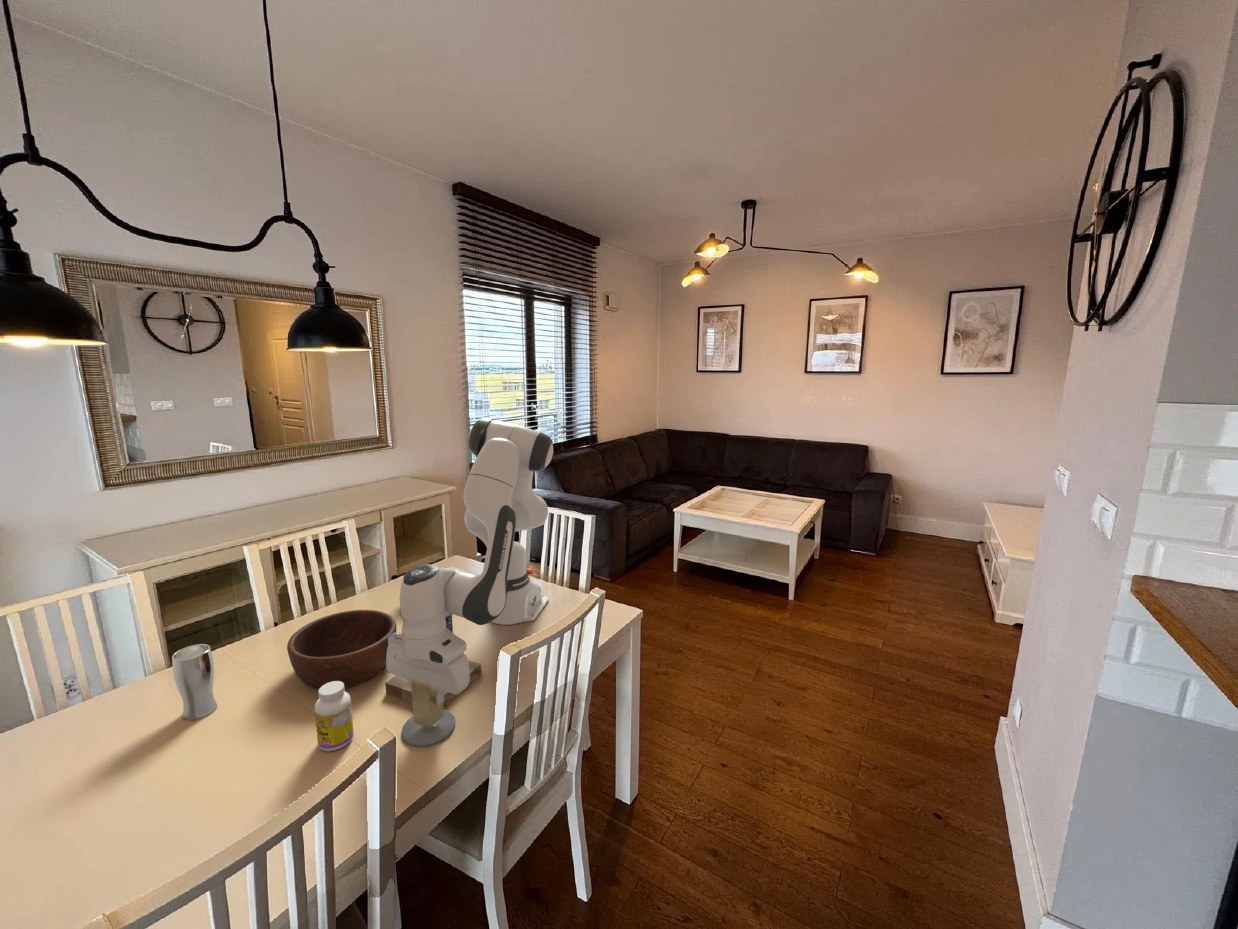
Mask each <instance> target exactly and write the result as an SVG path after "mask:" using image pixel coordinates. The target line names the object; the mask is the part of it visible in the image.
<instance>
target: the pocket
mask: <svg viewBox="0 0 1238 929" xmlns="http://www.w3.org/2000/svg"><path fill="white" fill-rule="evenodd" d="M468 664H469V675H470V681H469V684H468V686H467V687H469V686H470V685H471V684H472V683H473V682H474V681H476V680H477V679H478V678H479V677H480V676H481V675H482V664H481V663H478V662H475V661H473V660H468ZM384 683H385V685H384V686H385V694H386V695H388V696H391V697H393V698H398V699H399V700H403V701H406V702H408V703H411V704H413V703H412V689H411V688H410V686H409V684H408V682H407V679H406V678H403V677H400V676H397V675H394V676H393V677H391V678H390V679H388V680H387V681H386V682H384ZM461 693H462V692H460V693H459V694H461ZM459 694H457V695H455V694H452V693H449V692H445V693H444V701H443V707H444V708H445V707H446V706H447V705H448V704H449V703H450V702H452V700H453V699H455V698H456V697H458V695H459Z"/></svg>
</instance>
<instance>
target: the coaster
mask: <svg viewBox="0 0 1238 929" xmlns="http://www.w3.org/2000/svg"><path fill="white" fill-rule="evenodd" d="M455 727H456V718H455V716H454V715H453V713H452V712H451V711H449V710H446V709H444V716H443V717H442V718H441V719H440V720H438V721H437V722H436V723H435V724H434V725H433V726H432V727H431V728H427V727H425V726H422V725H419V724H416V723H414V717H413V716H410V717H409V719H407V720H406V722H405V723H404V724H403V725H402V728H401V729H402V730H401V737H402V740H403V742H405V743H406V744H407V745H409V746H411V747H415V748H425V747H430V746H434V745H437V744H439V743H442V741H445V740H446V739H447V738H448V737H449V736H450V735H452V733H453V731H454V729H455Z"/></svg>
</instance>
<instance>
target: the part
mask: <svg viewBox="0 0 1238 929" xmlns="http://www.w3.org/2000/svg"><path fill="white" fill-rule="evenodd" d="M411 689H412V703H411V704H412V714H413V717H414V723H416V724H419V725H422V726H425V727H427V728H431V727H432V726H433V725H434V724H435V723H436V722H437V721H438V720H440V719H441V718H442V717H443V716H444V710H445V709H444V708H445V706H444V707H443V702H442V703H441V704H440V705H438V704H435V703H433V701H434V700H433V696H434V695H436V694H437V693H438V692H437V691H436V688H434V687H431V686H429V685H427V684H424V683H421V682H418V681H415V680H412V681H411Z"/></svg>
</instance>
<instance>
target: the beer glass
mask: <svg viewBox="0 0 1238 929" xmlns="http://www.w3.org/2000/svg"><path fill="white" fill-rule="evenodd" d="M213 657H214V656H213V653H212V651H211V645H209V644H207V643H206V644H205V643H200V644H199V643H198V644H192V645H190V646H189V645H188V646H185V647H183V648H181V649H179V650H177V651H176V652H174V653H173V654H172V656H171V659H172V673H173V675H172V676H173V679H174V682H175V683H174V684H175V686H176V689H177V690H178V693H179V694H180V697H181V699H182V703H183V704H182V706H183V709H182V710H183V711H182V718H183V719H184V720H185V721H195V720H200V719H203V718H206V717H208V716H209V715H211V714H212V713H214V712H215V711H216V709H217V708H218V703H217V701H216V699H215V696H214V692H213V690H214V679H215V663H214V658H213Z"/></svg>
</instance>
